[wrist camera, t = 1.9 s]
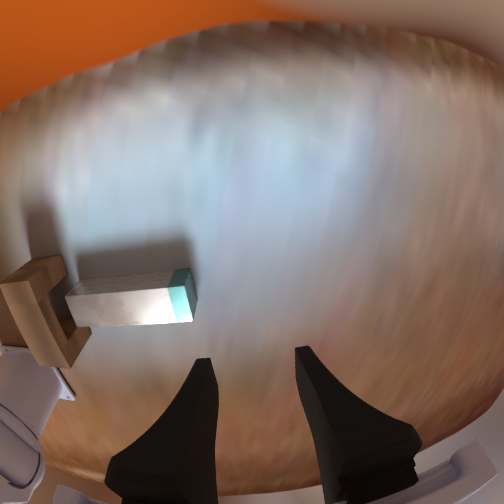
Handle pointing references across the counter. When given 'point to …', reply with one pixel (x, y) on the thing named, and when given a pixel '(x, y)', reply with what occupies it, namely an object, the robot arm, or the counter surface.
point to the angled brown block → (43, 313)
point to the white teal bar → (134, 299)
